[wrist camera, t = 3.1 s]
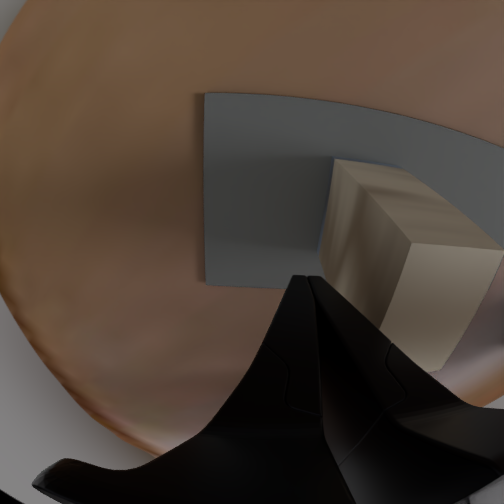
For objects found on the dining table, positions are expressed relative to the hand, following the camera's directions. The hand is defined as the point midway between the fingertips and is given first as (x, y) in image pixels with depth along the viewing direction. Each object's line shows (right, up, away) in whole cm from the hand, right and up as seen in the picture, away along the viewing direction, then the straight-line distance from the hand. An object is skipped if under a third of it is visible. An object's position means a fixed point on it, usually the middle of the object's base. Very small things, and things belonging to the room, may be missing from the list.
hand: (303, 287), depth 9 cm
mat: (+6, +3, +6) cm, 9 cm away
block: (+4, +3, +5) cm, 7 cm away
